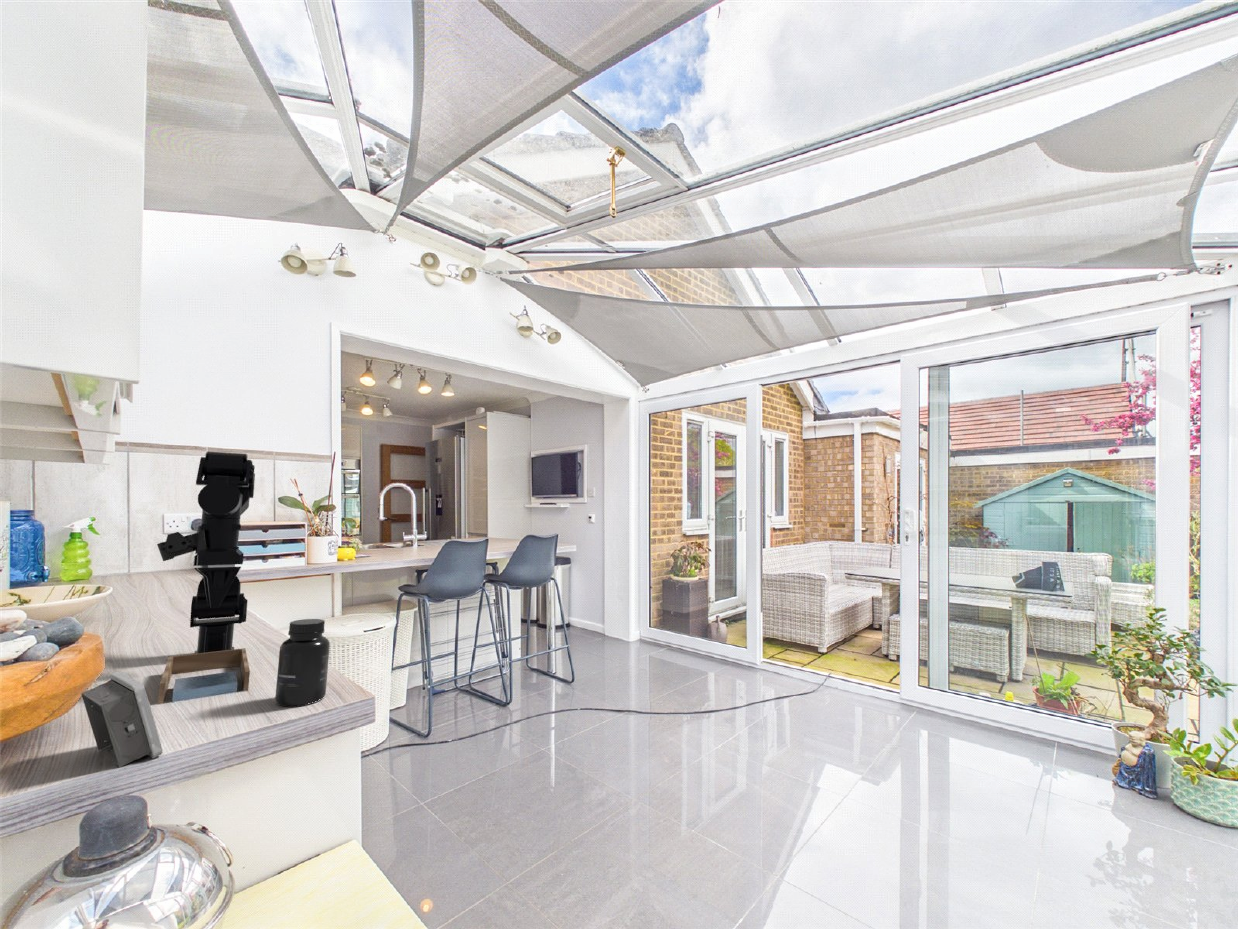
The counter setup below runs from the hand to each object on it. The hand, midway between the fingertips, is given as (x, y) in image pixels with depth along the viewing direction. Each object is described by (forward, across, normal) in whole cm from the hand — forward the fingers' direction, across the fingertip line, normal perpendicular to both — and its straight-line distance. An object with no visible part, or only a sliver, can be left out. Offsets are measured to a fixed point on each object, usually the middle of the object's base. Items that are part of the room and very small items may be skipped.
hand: (212, 606), depth 95 cm
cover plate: (+13, +8, 0) cm, 16 cm away
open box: (+12, +3, 0) cm, 13 cm away
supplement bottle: (+14, +23, +11) cm, 29 cm away
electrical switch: (+15, +32, -9) cm, 36 cm away
